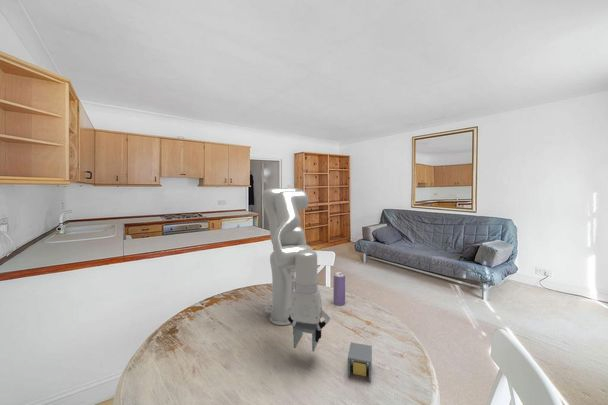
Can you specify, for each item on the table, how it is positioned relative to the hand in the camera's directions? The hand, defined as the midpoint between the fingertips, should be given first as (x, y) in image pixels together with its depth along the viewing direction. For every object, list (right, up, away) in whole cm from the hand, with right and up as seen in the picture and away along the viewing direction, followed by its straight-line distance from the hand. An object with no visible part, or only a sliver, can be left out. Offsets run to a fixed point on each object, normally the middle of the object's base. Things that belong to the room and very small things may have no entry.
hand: (307, 337), depth 85 cm
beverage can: (+17, -6, +43) cm, 46 cm away
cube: (+17, -8, -5) cm, 20 cm away
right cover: (+17, -8, -5) cm, 20 cm away
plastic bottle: (-9, -5, +53) cm, 54 cm away
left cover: (0, -2, 0) cm, 2 cm away
